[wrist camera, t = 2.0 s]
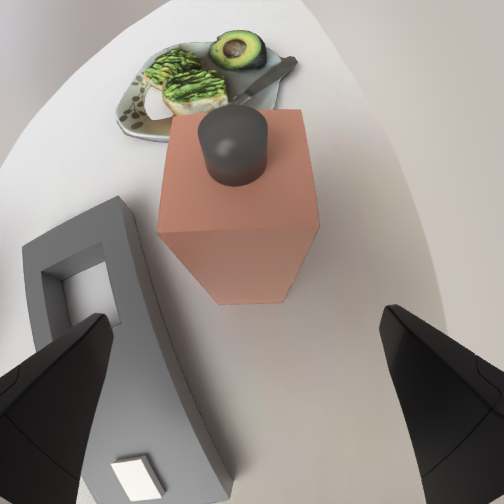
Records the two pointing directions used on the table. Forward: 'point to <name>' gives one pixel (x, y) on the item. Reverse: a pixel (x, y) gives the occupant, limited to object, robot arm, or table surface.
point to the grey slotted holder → (127, 369)
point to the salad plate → (203, 81)
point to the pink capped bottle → (239, 201)
